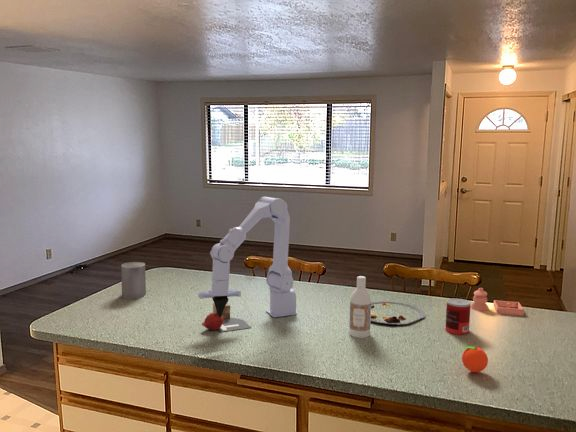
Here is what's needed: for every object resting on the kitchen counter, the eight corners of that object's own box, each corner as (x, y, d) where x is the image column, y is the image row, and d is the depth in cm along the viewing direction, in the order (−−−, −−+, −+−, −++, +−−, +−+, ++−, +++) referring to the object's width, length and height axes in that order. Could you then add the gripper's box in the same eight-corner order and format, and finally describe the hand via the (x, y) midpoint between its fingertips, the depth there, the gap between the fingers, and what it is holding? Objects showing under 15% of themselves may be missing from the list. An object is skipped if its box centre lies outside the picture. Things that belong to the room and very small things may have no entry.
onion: (228, 321, 170) (205, 328, 167) (226, 329, 175) (204, 336, 171) (221, 307, 174) (199, 313, 170) (220, 315, 178) (198, 322, 174)
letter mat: (235, 312, 191) (235, 312, 191) (251, 327, 175) (251, 327, 174) (206, 316, 186) (206, 315, 186) (220, 332, 170) (220, 331, 170)
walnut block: (226, 314, 188) (226, 301, 187) (230, 318, 183) (230, 305, 183) (213, 316, 186) (212, 303, 185) (216, 320, 181) (216, 307, 181)
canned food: (468, 330, 175) (470, 299, 173) (468, 338, 167) (470, 306, 166) (445, 327, 177) (447, 297, 176) (444, 335, 170) (446, 303, 168)
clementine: (456, 373, 141) (458, 349, 140) (457, 363, 147) (459, 340, 146) (487, 378, 138) (489, 353, 137) (487, 368, 144) (488, 344, 143)
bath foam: (347, 337, 167) (349, 278, 164) (351, 330, 173) (352, 273, 171) (368, 339, 165) (370, 280, 162) (371, 332, 171) (373, 275, 169)
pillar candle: (128, 292, 216) (127, 258, 214) (149, 293, 214) (149, 259, 212) (117, 299, 206) (116, 263, 204) (140, 300, 205) (139, 264, 203)
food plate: (394, 334, 171) (394, 324, 171) (343, 316, 189) (343, 307, 188) (435, 318, 188) (435, 309, 187) (385, 303, 205) (385, 295, 205)
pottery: (518, 312, 195) (519, 288, 194) (523, 320, 186) (524, 294, 185) (469, 308, 199) (470, 284, 198) (471, 316, 190) (473, 290, 189)
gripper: (236, 275, 178) (235, 313, 179) (196, 277, 172) (195, 315, 173) (243, 280, 172) (241, 318, 173) (202, 281, 166) (200, 321, 167)
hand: (218, 317), depth 173 cm, fingers closed, pressing on onion
